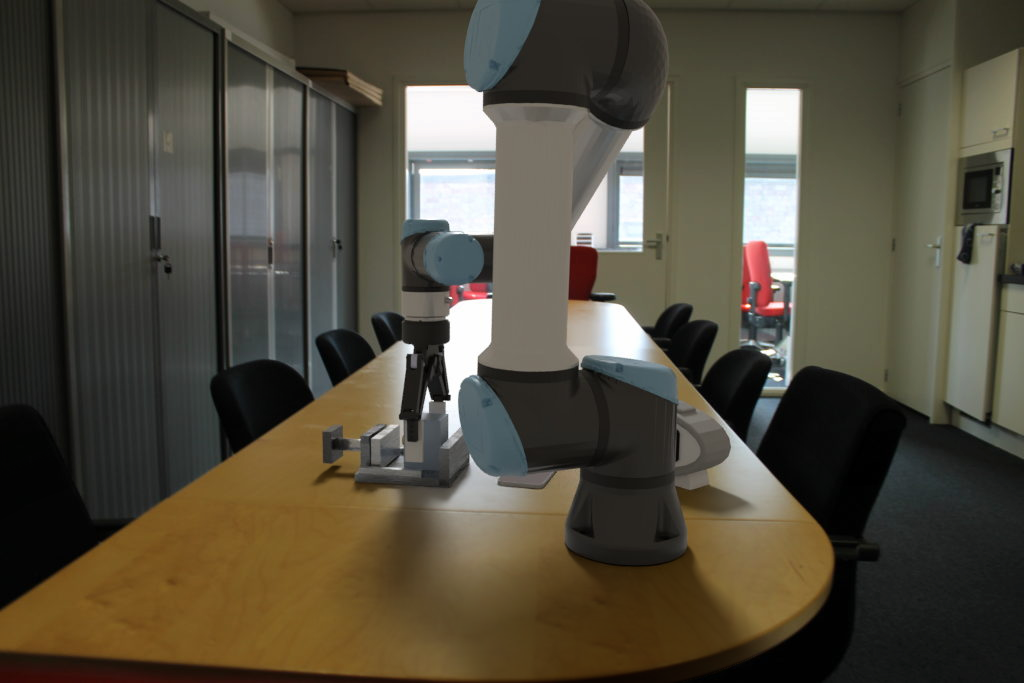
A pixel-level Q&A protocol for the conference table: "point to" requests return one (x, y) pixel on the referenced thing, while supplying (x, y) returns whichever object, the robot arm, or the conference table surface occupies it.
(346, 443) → the ram
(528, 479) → the smartphone
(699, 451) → the alarm clock
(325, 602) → the conference table surface
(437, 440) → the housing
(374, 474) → the press bed
